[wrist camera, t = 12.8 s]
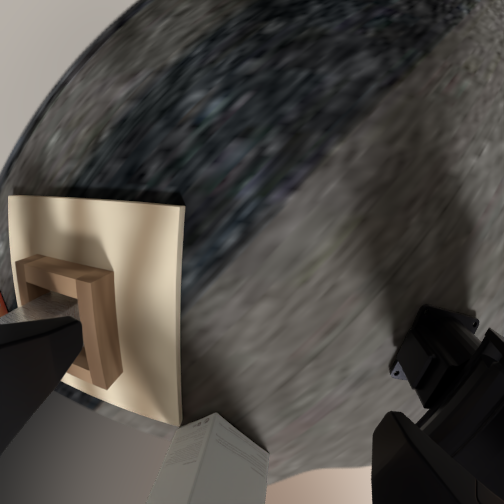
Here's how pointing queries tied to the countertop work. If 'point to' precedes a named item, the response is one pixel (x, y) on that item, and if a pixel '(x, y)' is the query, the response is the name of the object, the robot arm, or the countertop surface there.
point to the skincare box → (211, 466)
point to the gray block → (44, 309)
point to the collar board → (109, 291)
